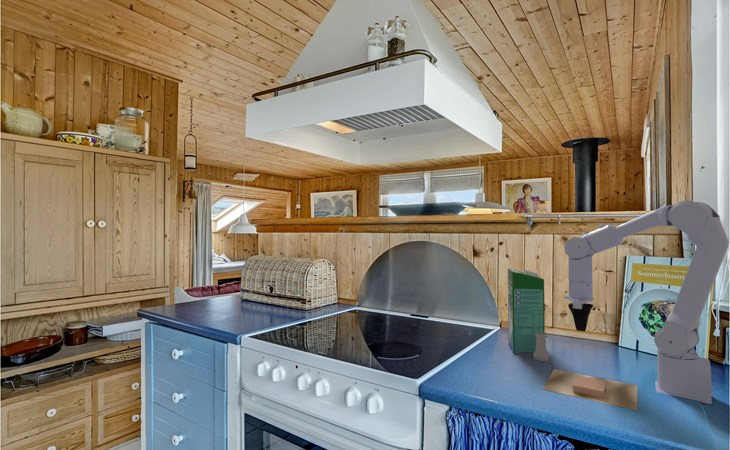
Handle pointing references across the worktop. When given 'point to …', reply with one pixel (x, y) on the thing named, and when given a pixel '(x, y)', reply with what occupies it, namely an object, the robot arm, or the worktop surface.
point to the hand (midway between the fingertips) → (581, 330)
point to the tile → (589, 386)
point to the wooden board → (613, 395)
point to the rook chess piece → (541, 347)
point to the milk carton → (525, 309)
